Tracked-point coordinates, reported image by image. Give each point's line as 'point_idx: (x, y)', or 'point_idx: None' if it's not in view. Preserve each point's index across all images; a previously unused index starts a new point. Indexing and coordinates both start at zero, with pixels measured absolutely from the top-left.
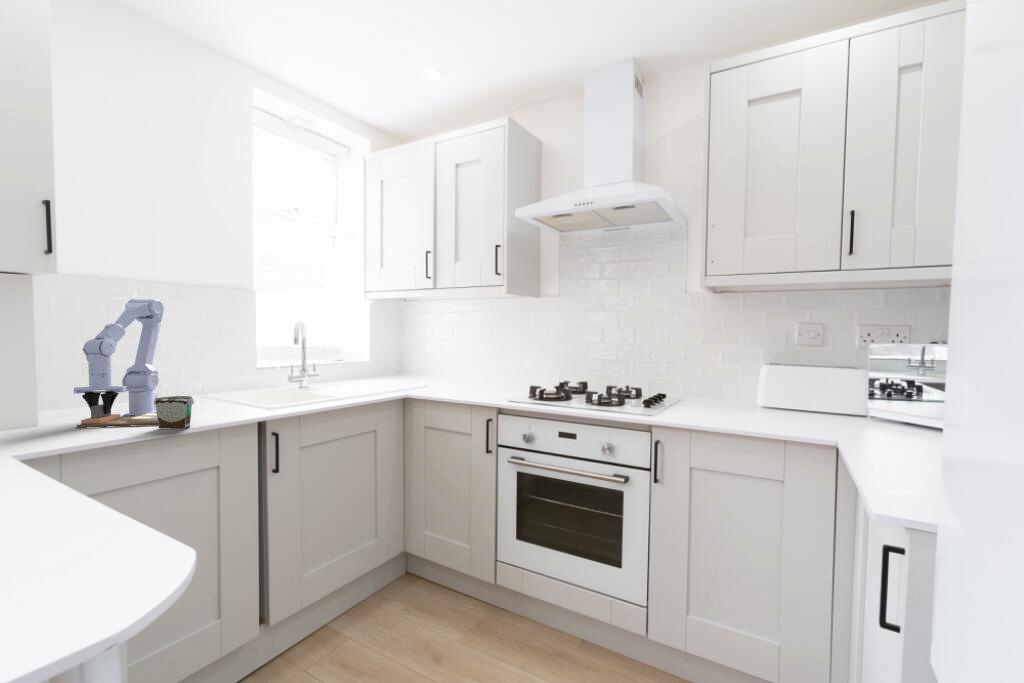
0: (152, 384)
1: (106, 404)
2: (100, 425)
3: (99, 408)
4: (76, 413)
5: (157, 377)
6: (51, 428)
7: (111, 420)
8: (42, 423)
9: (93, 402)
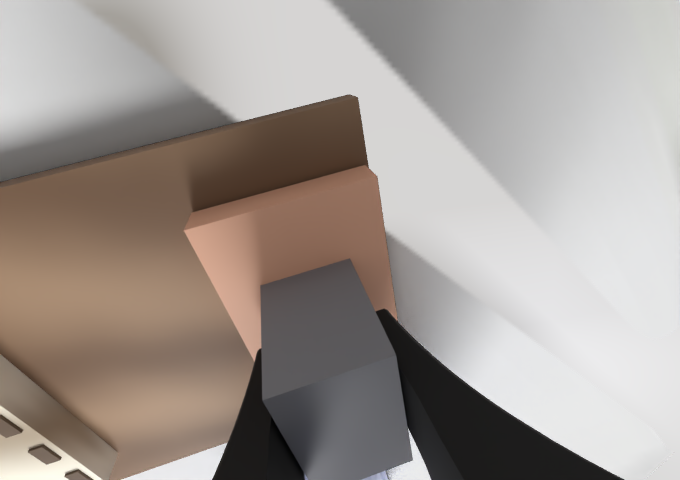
0: None
1: (225, 463)
2: (121, 153)
3: (279, 366)
4: (617, 409)
5: None
6: (563, 90)
7: None
8: (677, 237)
9: (432, 444)
